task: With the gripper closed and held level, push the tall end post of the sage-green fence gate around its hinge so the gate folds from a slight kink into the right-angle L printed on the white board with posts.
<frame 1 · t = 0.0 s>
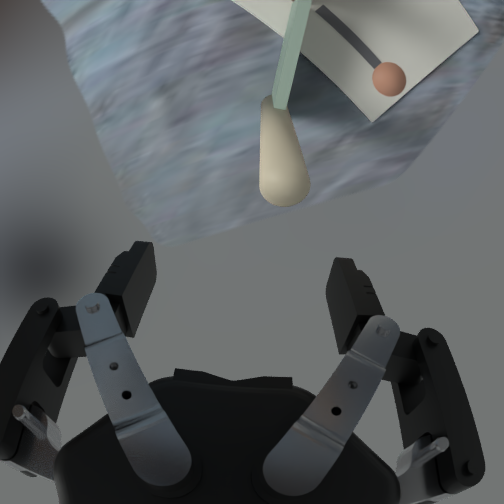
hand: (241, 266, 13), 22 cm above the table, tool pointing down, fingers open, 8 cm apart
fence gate: (292, 70, 18), point 10 cm above the table, hinge at 30.0°
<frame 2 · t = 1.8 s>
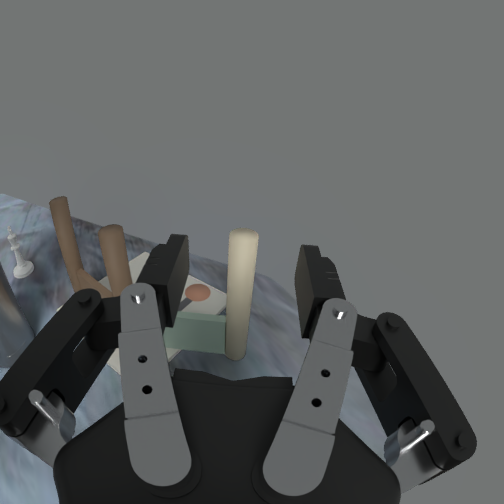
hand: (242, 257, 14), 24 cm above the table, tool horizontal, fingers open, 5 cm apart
white board with posts: (138, 345, 36), on the table
chess piece: (24, 271, 45), on the table
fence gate: (191, 300, 31), point 10 cm above the table, hinge at 30.0°
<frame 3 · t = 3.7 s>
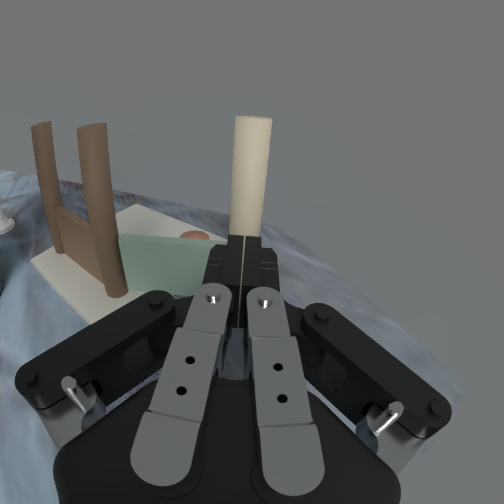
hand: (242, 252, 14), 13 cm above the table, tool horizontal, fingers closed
white board with posts: (118, 294, 29), on the table
chess piece: (4, 229, 38), on the table
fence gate: (184, 216, 24), point 10 cm above the table, hinge at 30.0°
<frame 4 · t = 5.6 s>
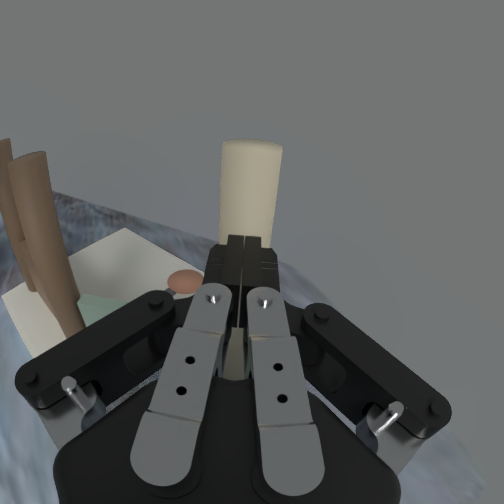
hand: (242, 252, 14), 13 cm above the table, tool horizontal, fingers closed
white board with posts: (90, 354, 22), on the table
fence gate: (156, 284, 17), point 10 cm above the table, hinge at 31.4°, touching gripper
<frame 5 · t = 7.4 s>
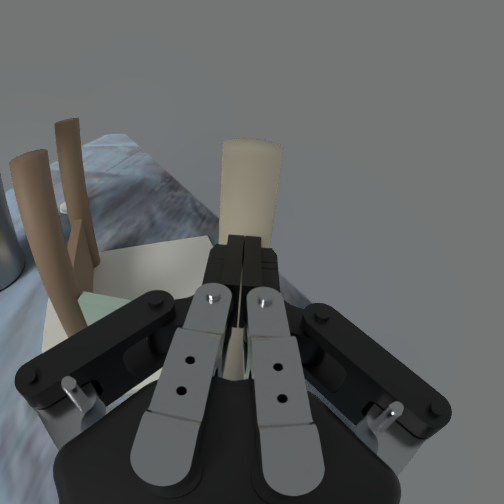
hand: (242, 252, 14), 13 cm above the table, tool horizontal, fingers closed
white board with posts: (90, 351, 23), on the table
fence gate: (156, 282, 17), point 10 cm above the table, hinge at 63.7°, touching gripper
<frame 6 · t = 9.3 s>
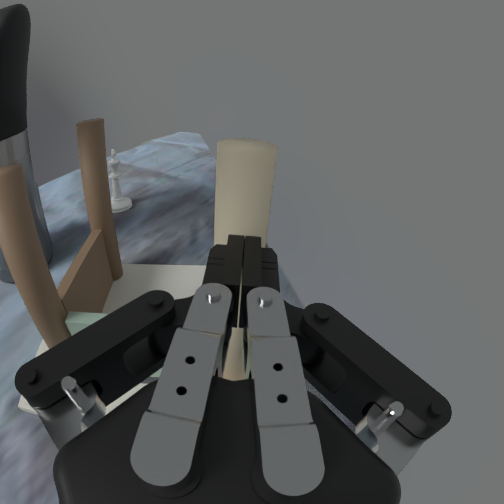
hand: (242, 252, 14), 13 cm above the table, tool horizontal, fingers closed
white board with posts: (80, 373, 21), on the table
chess piece: (118, 207, 46), on the table
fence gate: (149, 293, 16), point 10 cm above the table, hinge at 91.5°, touching gripper
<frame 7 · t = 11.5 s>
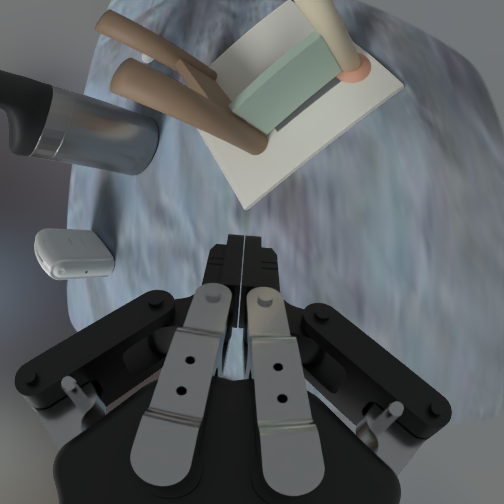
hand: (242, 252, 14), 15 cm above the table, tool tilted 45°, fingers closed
white board with posts: (259, 145, 30), on the table
photo printer: (102, 252, 46), on the table
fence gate: (271, 44, 18), point 10 cm above the table, hinge at 91.5°
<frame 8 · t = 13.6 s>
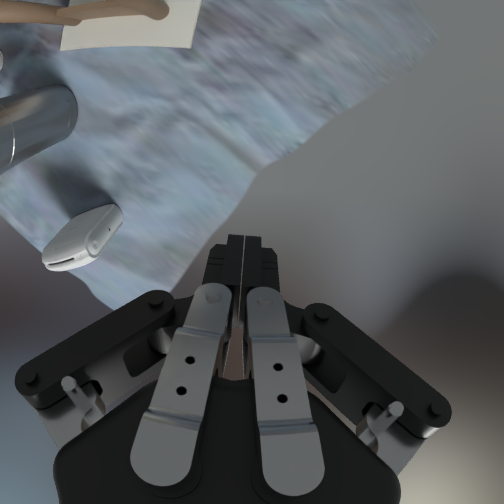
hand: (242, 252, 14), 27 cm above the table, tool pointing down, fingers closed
white board with posts: (161, 12, 26), on the table
photo printer: (98, 218, 44), on the table
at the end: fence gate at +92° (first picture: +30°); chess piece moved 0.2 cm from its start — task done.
